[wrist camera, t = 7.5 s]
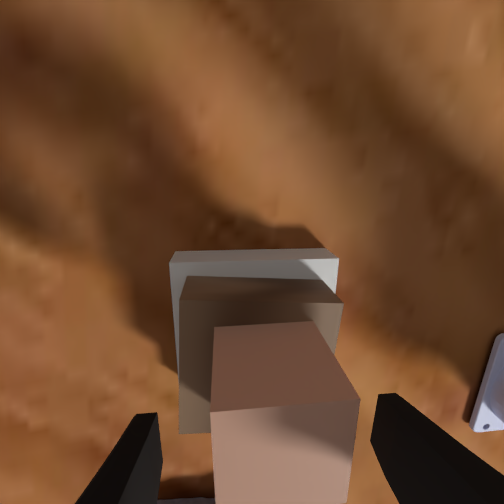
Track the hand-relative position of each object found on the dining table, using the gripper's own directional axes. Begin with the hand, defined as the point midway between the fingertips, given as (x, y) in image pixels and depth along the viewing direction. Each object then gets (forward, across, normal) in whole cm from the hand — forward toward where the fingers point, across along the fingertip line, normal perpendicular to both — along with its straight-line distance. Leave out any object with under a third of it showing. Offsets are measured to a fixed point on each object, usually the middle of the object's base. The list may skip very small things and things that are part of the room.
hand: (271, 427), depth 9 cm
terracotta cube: (+3, 0, 0) cm, 3 cm away
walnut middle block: (+5, 0, 0) cm, 5 cm away
